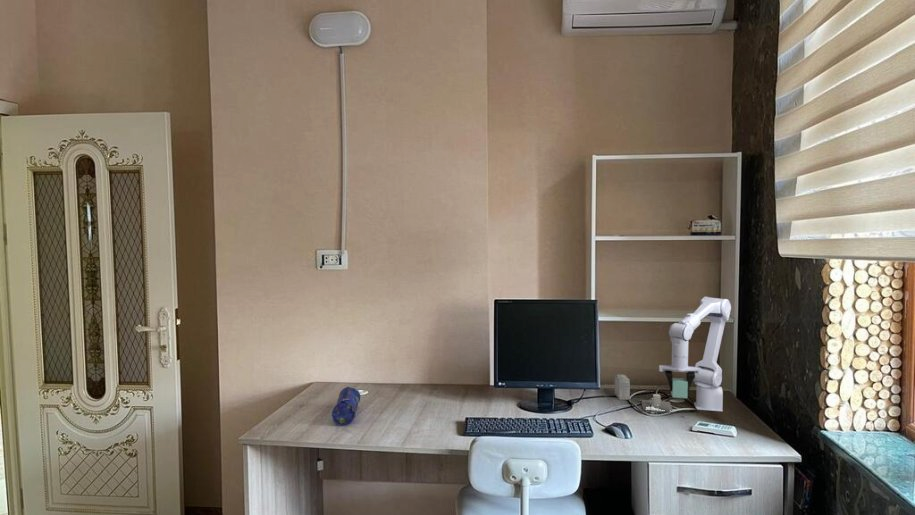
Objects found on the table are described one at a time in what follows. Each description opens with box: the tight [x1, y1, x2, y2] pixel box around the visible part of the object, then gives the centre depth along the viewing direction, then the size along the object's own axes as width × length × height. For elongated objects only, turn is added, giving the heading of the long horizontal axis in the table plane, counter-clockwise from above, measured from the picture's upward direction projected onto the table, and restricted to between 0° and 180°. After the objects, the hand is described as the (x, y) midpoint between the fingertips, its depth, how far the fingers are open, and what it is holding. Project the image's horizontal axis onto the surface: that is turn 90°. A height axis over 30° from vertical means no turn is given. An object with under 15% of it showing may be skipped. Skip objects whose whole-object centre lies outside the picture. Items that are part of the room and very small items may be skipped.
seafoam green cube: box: [670, 377, 689, 399], centre depth 212 cm, size 5×5×6 cm
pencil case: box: [331, 386, 361, 427], centre depth 216 cm, size 22×9×10 cm, turn 4°
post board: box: [640, 393, 673, 411], centre depth 225 cm, size 11×11×5 cm
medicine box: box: [614, 374, 631, 401], centre depth 237 cm, size 8×4×9 cm, turn 179°
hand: (679, 390), depth 212 cm, fingers closed on seafoam green cube, 5 cm apart
